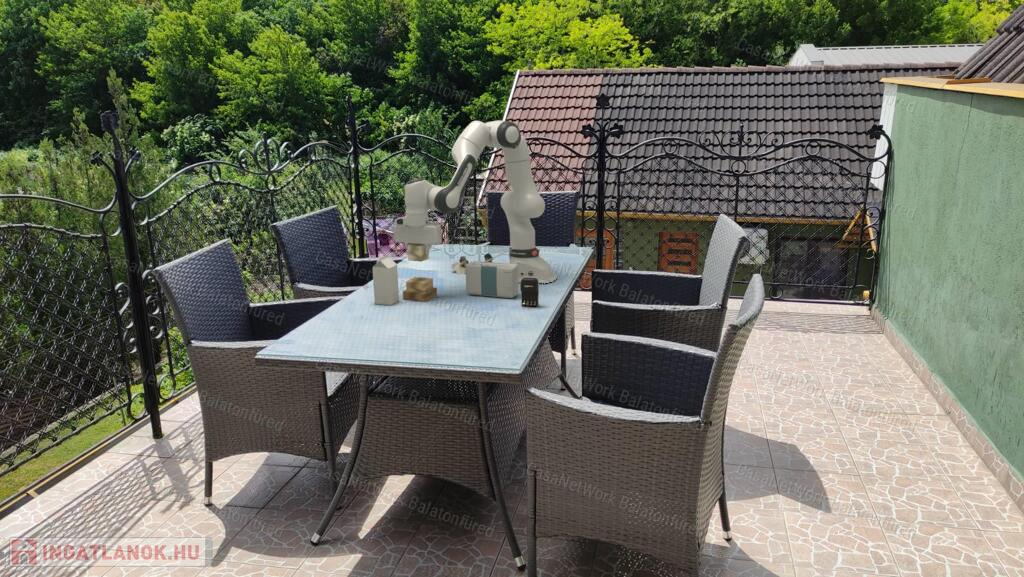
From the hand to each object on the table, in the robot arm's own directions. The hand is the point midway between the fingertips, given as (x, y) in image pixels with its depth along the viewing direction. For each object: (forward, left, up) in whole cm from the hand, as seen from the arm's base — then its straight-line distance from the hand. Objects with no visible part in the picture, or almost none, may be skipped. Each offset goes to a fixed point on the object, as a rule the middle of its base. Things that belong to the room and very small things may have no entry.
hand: (418, 254), depth 276 cm
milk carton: (+9, +11, -18) cm, 23 cm away
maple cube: (0, 0, -2) cm, 2 cm away
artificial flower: (+1, -53, -19) cm, 56 cm away
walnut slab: (0, 0, -19) cm, 19 cm away
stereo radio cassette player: (-26, -14, -18) cm, 35 cm away
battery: (-46, -4, -18) cm, 50 cm away
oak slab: (0, 0, -15) cm, 15 cm away
